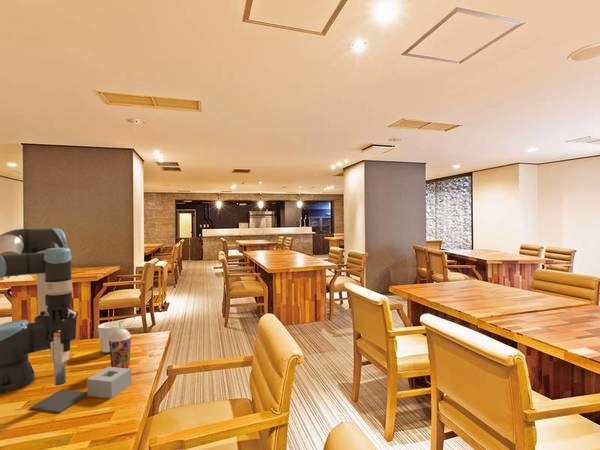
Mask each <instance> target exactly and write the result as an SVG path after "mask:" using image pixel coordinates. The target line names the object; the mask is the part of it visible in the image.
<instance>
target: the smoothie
mask: <svg viewBox="0 0 600 450" xmlns="http://www.w3.org/2000/svg"><path fill="white" fill-rule="evenodd" d="M118 322H119V329H117V330H115V331H114V332H113V333H112V334H111V336H110V338H109V347H110V353H109V355H110V357H109V358H110V367H117V368H127V369H129V367H130V363H131V347H132V346H131V345H132V334H131V333H130V332H129V330H128V329H126V328H124V327H123V328H122V324H121V323H122V322H121V321H118Z"/></svg>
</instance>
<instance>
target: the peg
mask: <svg viewBox="0 0 600 450" xmlns="http://www.w3.org/2000/svg"><path fill="white" fill-rule="evenodd" d="M53 341H54V361H53V373H54V374H53V375H54V376H53V378H54V379H53V385H54V386H56V387H58V386H62V385H64V384H66V383H67V380H66V378H67V377H66V374H67V373H66V361H64V362H60V342H62V338H61V331H60V330H59V331H55V332H53Z"/></svg>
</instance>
